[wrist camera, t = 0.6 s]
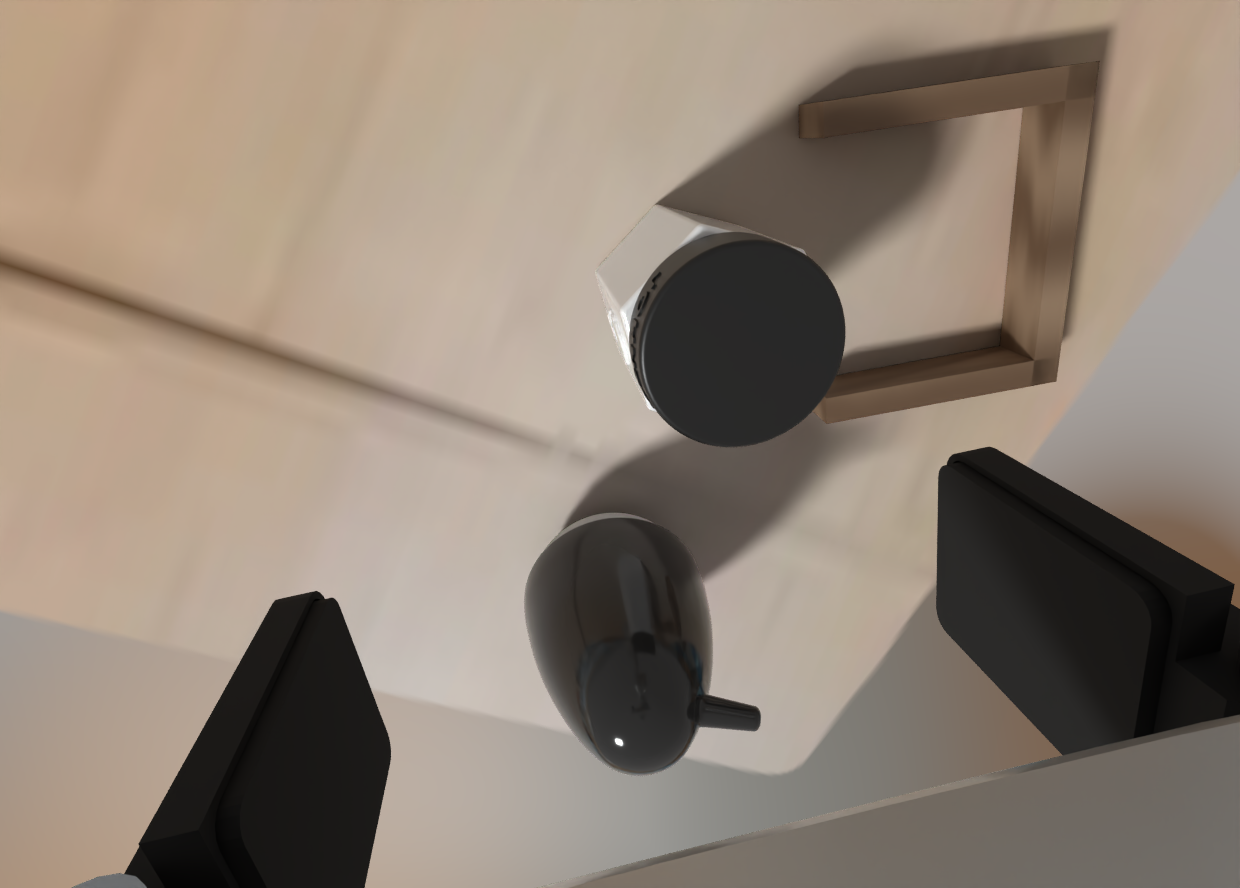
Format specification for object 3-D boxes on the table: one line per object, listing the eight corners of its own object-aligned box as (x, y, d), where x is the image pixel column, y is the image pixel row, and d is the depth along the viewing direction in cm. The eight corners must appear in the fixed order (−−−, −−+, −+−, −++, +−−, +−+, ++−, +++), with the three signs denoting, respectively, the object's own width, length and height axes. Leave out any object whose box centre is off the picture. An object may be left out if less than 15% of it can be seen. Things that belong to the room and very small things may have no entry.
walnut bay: (798, 105, 34) (823, 102, 32) (1054, 67, 35) (1099, 61, 33) (805, 405, 41) (826, 423, 38) (1020, 365, 42) (1056, 381, 39)
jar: (577, 228, 35) (607, 268, 24) (730, 179, 35) (828, 197, 24) (625, 388, 39) (670, 484, 28) (763, 343, 39) (861, 422, 28)
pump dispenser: (688, 617, 46) (764, 822, 32) (530, 635, 45) (538, 857, 31) (690, 479, 42) (778, 646, 28) (515, 495, 41) (518, 678, 27)
